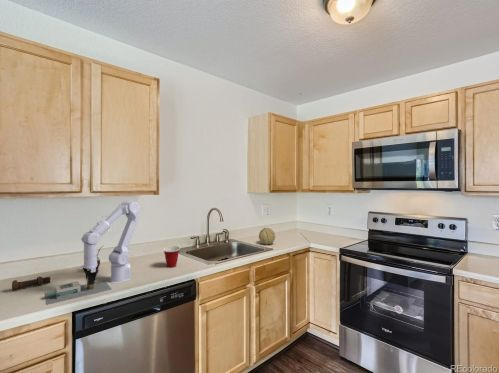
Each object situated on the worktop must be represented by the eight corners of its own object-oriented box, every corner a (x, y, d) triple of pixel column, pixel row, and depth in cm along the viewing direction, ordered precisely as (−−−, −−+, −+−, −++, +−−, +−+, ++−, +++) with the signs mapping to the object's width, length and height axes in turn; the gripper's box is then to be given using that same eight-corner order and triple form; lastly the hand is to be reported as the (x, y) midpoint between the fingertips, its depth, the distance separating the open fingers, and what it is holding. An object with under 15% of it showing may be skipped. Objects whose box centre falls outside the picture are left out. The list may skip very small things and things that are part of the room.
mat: (104, 281, 142) (104, 280, 142) (111, 290, 130) (111, 289, 130) (44, 293, 125) (44, 292, 125) (46, 306, 113) (46, 304, 113)
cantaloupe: (278, 245, 230) (278, 228, 230) (265, 247, 222) (265, 229, 222) (268, 241, 242) (268, 225, 242) (255, 243, 234) (255, 227, 234)
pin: (93, 286, 133) (93, 267, 133) (94, 288, 131) (94, 268, 131) (86, 288, 131) (86, 268, 131) (87, 290, 129) (87, 270, 129)
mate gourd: (83, 272, 155) (83, 247, 155) (93, 268, 163) (93, 244, 163) (95, 273, 154) (95, 248, 154) (104, 268, 162) (104, 245, 162)
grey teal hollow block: (78, 288, 131) (78, 281, 131) (80, 293, 125) (80, 285, 125) (46, 295, 122) (46, 287, 122) (47, 301, 116) (47, 292, 116)
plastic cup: (160, 269, 163) (160, 250, 163) (165, 263, 174) (165, 245, 173) (177, 269, 163) (178, 250, 163) (181, 263, 174) (181, 246, 174)
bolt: (50, 286, 139) (12, 294, 127) (48, 280, 141) (11, 287, 130) (51, 278, 137) (13, 286, 125) (50, 272, 140) (12, 278, 128)
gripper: (78, 254, 133) (78, 280, 134) (83, 260, 122) (83, 289, 123) (94, 252, 138) (94, 277, 138) (100, 258, 127) (100, 285, 127)
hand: (90, 282), depth 131 cm, fingers open, 5 cm apart
